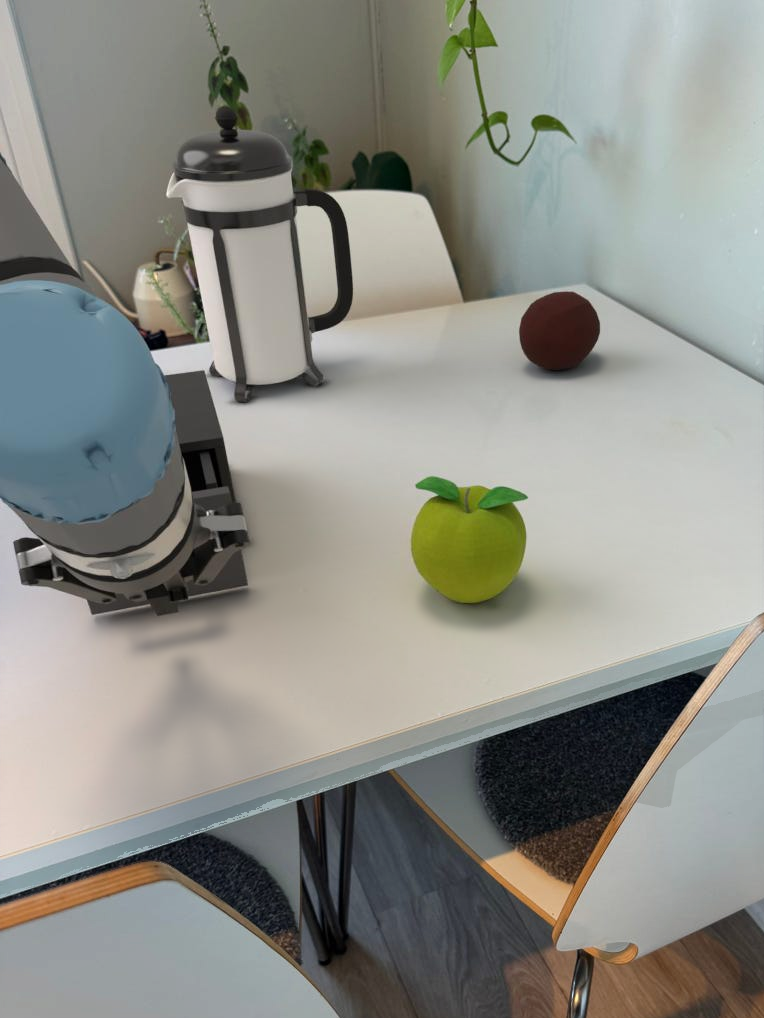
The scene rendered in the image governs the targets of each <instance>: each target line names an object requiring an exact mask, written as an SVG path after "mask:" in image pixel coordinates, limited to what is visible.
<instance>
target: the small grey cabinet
mask: <svg viewBox="0 0 764 1018" xmlns="http://www.w3.org/2000/svg"><path fill="white" fill-rule="evenodd" d="M205 371H206V370H204V369H203V370H202V369H201V370H194V371H186V372H179V373H171V374H164V376H165V378H166V381H167V383H168V386H169V388H170V391H171V396H170V399H171V403H172V407H173V408H174V410H175V425H176V433H177V437H178V442H179V446H180V451H181V453H185V452H192V451H198V450H205V449H208V450H209V454H210V458H211V462H212V466H213V470H214V474H215V478H216V482H217V487H218V488H220V487H226V486H228V487H229V491H230V495H231V500H232V502H235V503H237V500H236V495H235V490H234V484H233V480H232V475H231V470H230V464H229V460H228V454H227V448H226V444H225V443H226V442H225V438H224V435H223V431H222V428H221V424H220V421H219V418H218V414H217V410H216V407H215V402H214V400H213V399H214V398H213V396H212V392H211V389H210V386H209V382H208V378H207V375H206V372H205Z"/></svg>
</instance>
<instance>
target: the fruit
mask: <svg viewBox="0 0 764 1018" xmlns="http://www.w3.org/2000/svg"><path fill="white" fill-rule="evenodd" d="M414 486H415V488H416V489H418V490H423V491H428V492H431V493H433V494H435V496H433V497H430V498H429V499H427V501H425V503H424V504H423V505H422V506H421V508H420V509H419V511H418V513H417V515H416V517H415V519H414V523H413V526H412V531H411V537H410V553H411V556H412V560H413V563H414V565H415V567H416V570H417V572H418V573H419V574H420V576H421V577H422V578H423V580H425V581H426V583H427V584H429V585H430V586H431V587H432V588H433V589H434V590H435V591H438V592H439V593H440V594H441V595H443V596H444V597H446V598H448V599H449V600H451V601H453V602H457V603H462V604H475V603H481V602H485V601H487V600H491V599H492V598H494V597H496V596H498V595H499V594H500V593H502V592H503V591H504V590H505V589H506V588H508V586H510V584H511V583H512V582H513V581H514V579H516V576H517V575H518V573H519V571H520V568H521V566H522V565H523V564H522V563H523V561H524V557H525V553H526V547H527V528H526V523H525V521H524V518H523V516H522V514H521V512H520V510H519V509H518V508H517V506H516V505H515V504H514V503H515V502H520V501H524V500H527V499H528V498H529V496H528V495H526V493H523V492H522V491H519V490H516V489H515V488H512V487H508V486H503V485H501V486H500V485H499V486H495V487H493V488H491V489H490V488H488V487H485V486H483V485H470V486H457V484H456V483H454V482H453V481H451V480H448V479H447V478H442V477H438V476H433V475H431V476H427V477H425V478H423V479H421V480H420V481H418V482H417V483H416V484H414Z"/></svg>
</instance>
